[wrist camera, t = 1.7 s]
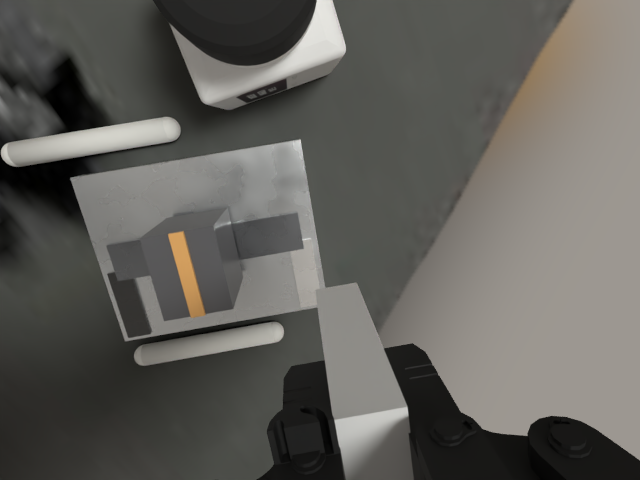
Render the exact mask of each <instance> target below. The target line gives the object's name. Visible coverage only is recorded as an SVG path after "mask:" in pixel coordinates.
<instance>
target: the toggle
mask: <svg viewBox="0 0 640 480" xmlns="http://www.w3.org/2000/svg"><path fill="white" fill-rule="evenodd" d="M139 239H140V242H141V246H142V249H143V252H144V256H145V259H146V263H147V266H148V269H149V273H150V276H151V279H152V283H153V286H154V289H155V293H156V296H157V299H158V303H159V306H160V309H161V313H162V316H163V319H164V321H169V320H174V319H180V318H186V317H191V318H194V317H200V316H205V315H206V314H208V313H214V312H220V311H225V310H231V309H234V306H235V302H236V299H237V296H238V293H239V290H240V286H241V283H242V280H243V274H242V270H241V265H240V261H239V257H238V252H237V248H236V244H235V239H234V235H233V230H232V226H231V222H230V217H229V213H228V209H227V208H222V209H217V210H211V211H205V212H199V213H193V214H187V215H181V216H175V217H169V218H166V219H165V220H163V221H162V222H161V223H159V224H158V225H157V226H155V227H154V228H153V229H151V230H150V231H149V232H147V233H146V234H145V235H143V236H142V237H141V238H139Z"/></svg>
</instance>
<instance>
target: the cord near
mask: <svg viewBox="0 0 640 480" xmlns="http://www.w3.org/2000/svg"><path fill="white" fill-rule="evenodd" d="M180 133H181V128H180V125H179V123H178V122H177V121H176V120H175V119H173V118H171V117H161V118H155V119H149V120H143V121H137V122H131V123H125V124H119V125H113V126H107V127H100V128H94V129H88V130H82V131H76V132H70V133H64V134H58V135H52V136H46V137H39V138H33V139H27V140H21V141H15V142H10V143H7V144H5V145H4V146H3V147H2V149H1V156H2V159H3V160H4V161H5V162H6V163H7V164H9V165H11V166H15V167H22V166H28V165H34V164H40V163H46V162H52V161H58V160H64V159H70V158H76V157H82V156H88V155H94V154H100V153H106V152H112V151H118V150H124V149H130V148H136V147H142V146H148V145H154V144H160V143H166V142H172V141H175V140H176V139H178V137H179V136H180Z"/></svg>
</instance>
